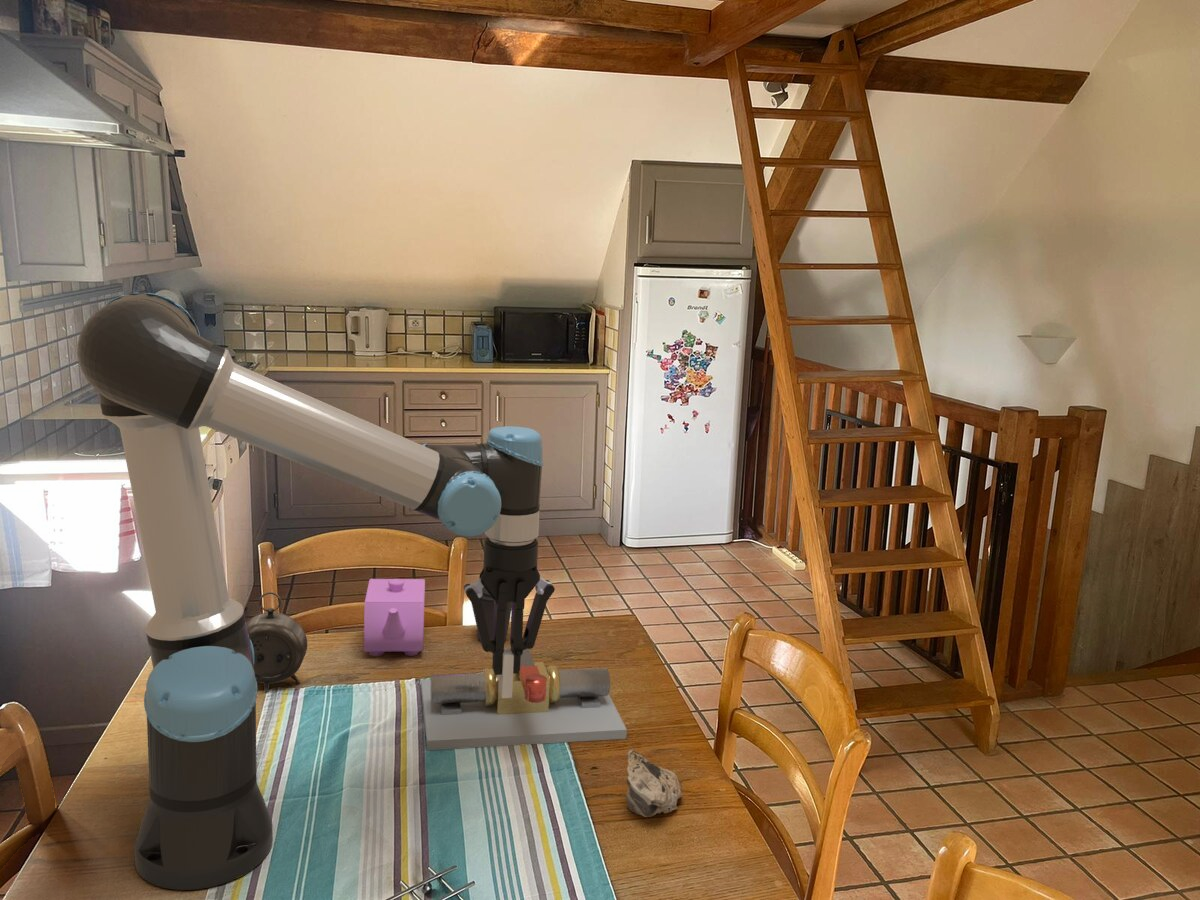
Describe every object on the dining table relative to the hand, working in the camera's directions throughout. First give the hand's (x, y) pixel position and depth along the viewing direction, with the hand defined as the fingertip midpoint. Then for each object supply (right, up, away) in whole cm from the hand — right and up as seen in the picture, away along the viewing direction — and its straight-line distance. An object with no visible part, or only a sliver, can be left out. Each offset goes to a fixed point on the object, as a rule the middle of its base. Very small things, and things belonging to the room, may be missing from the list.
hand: (505, 693), depth 138 cm
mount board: (+1, -7, +14) cm, 15 cm away
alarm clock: (-40, -3, +17) cm, 44 cm away
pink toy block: (-23, -1, +34) cm, 41 cm away
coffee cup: (-6, 0, +41) cm, 41 cm away
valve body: (+1, -5, +13) cm, 14 cm away
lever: (+3, -1, +6) cm, 7 cm away
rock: (+21, -13, -10) cm, 26 cm away
